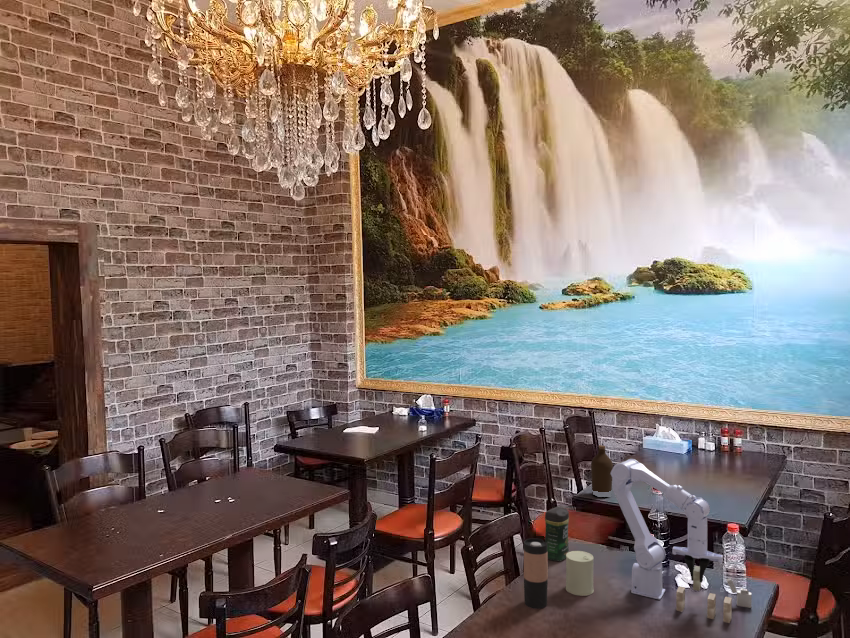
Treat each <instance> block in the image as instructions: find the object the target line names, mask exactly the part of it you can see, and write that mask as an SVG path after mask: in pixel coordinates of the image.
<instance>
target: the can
mask: <svg viewBox="0 0 850 638" xmlns="http://www.w3.org/2000/svg"><path fill="white" fill-rule="evenodd" d="M565 559H566V560H565V565H566V566H565V567H566V568H565V569H566V570H565V572H566V575H565V580H566V581H565V590H566V591H567V593H569V594H571V595H574V596H578V597H580V596H581V597H584V596H585V597H586V596H590V595H592V594H593V593H594V591H595V590H594V556H593V554H591V553H589V552H586V551H584V550H583V551H582V550H572V551H569V552H568V553H567V554H566V558H565Z"/></svg>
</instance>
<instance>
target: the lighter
mask: <svg viewBox="0 0 850 638" xmlns="http://www.w3.org/2000/svg"><path fill="white" fill-rule="evenodd" d="M726 583H727V584H728V586H729V588H730V591H731V592H732V594H735V593H736V606H737V607H742V608H750V609H752V592H750V591H749V589H746V588H740V590H739V589H738V590H737V588H736V585H735V583H734V581H733V580H732V578H726Z"/></svg>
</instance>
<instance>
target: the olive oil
mask: <svg viewBox="0 0 850 638" xmlns="http://www.w3.org/2000/svg"><path fill="white" fill-rule="evenodd" d="M597 451H598V453H597V454H596V455H595V456H594V457H592V460H591V462H590V473H591V474H590V475H591V476H590V477H591V491H592V490H593V491H598V492H609V491H611V490H612V491H613V488H612V476H611V474H610V473H611V471H612V469H613V467H614V464H613V461H612V459H611V458H610V457H609V456H608V455H607V453H606V445H603V444H599V445H598V449H597Z"/></svg>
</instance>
